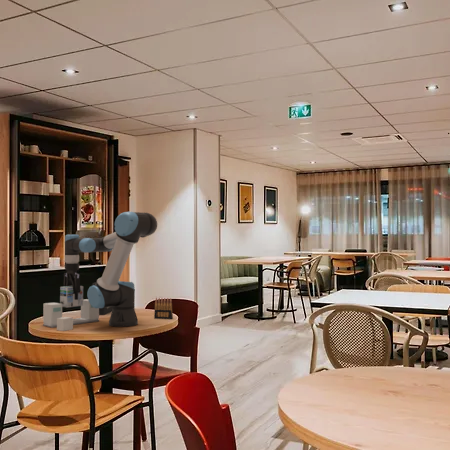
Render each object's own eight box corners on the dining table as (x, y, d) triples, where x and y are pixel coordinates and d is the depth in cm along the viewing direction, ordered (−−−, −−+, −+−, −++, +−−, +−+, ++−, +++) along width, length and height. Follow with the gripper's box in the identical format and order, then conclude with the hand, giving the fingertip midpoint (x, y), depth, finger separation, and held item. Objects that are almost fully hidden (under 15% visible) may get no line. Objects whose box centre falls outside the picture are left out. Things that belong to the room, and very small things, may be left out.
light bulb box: (67, 307, 272) (67, 287, 273) (59, 306, 276) (59, 286, 277) (83, 305, 281) (83, 285, 281) (76, 304, 285) (76, 285, 285)
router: (113, 310, 324) (113, 279, 325) (103, 315, 306) (103, 281, 307) (101, 310, 325) (101, 279, 326) (90, 315, 307) (90, 281, 308)
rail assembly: (99, 321, 285) (99, 300, 285) (51, 327, 265) (51, 305, 265) (90, 319, 292) (90, 298, 292) (42, 325, 272) (43, 303, 272)
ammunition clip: (154, 318, 293) (154, 297, 293) (155, 318, 295) (155, 297, 295) (171, 319, 290) (171, 298, 290) (172, 318, 292) (172, 297, 292)
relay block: (72, 329, 260) (72, 317, 260) (63, 331, 255) (63, 319, 256) (66, 328, 263) (66, 316, 263) (56, 330, 258) (56, 318, 258)
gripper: (87, 263, 275) (87, 306, 274) (69, 261, 289) (68, 302, 288) (74, 263, 269) (74, 307, 269) (56, 262, 283) (56, 303, 283)
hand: (71, 305), depth 279 cm, fingers closed on light bulb box, 7 cm apart
